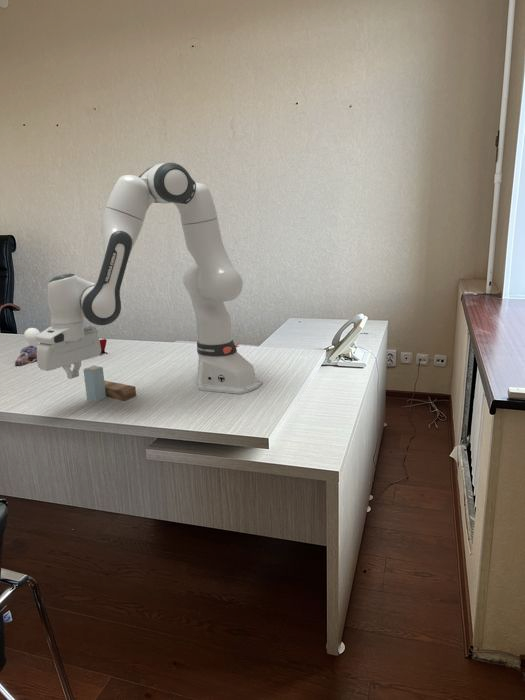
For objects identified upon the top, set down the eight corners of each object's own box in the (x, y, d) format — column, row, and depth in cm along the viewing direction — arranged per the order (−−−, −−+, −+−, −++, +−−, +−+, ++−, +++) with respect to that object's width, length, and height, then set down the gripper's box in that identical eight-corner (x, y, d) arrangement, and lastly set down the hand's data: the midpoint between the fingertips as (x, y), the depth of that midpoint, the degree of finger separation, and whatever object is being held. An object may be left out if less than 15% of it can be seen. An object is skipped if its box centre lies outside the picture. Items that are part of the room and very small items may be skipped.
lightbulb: (39, 355, 215) (35, 329, 212) (23, 356, 215) (20, 329, 213) (45, 351, 221) (42, 325, 219) (30, 352, 222) (27, 326, 219)
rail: (136, 395, 166) (135, 386, 165) (124, 400, 162) (123, 391, 161) (100, 388, 174) (99, 379, 173) (88, 392, 170) (87, 383, 169)
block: (106, 398, 165) (102, 366, 162) (96, 402, 162) (92, 370, 159) (97, 396, 167) (93, 364, 164) (87, 400, 164) (83, 368, 161)
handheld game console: (97, 351, 221) (95, 334, 219) (109, 355, 214) (107, 338, 212) (69, 356, 213) (67, 340, 212) (81, 361, 206) (79, 344, 204)
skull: (23, 368, 199) (21, 352, 198) (6, 367, 202) (4, 351, 200) (44, 359, 210) (42, 344, 209) (28, 358, 213) (26, 343, 211)
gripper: (88, 323, 162) (93, 367, 166) (30, 337, 145) (36, 385, 149) (103, 325, 159) (107, 369, 163) (45, 340, 142) (51, 388, 146)
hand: (73, 377), depth 156 cm, fingers closed
